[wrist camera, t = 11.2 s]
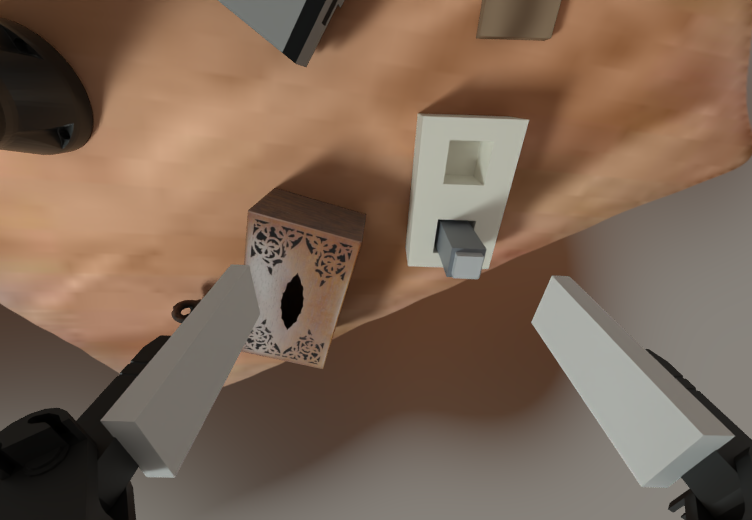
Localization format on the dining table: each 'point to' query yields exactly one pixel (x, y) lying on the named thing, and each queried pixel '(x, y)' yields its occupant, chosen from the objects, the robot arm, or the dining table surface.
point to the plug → (459, 249)
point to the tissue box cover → (299, 274)
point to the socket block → (460, 178)
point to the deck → (517, 19)
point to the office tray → (287, 23)
